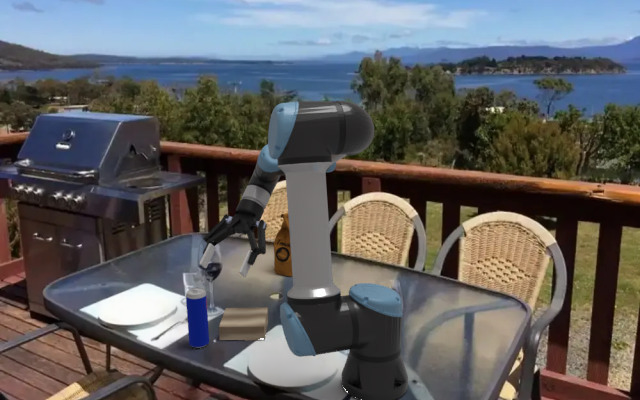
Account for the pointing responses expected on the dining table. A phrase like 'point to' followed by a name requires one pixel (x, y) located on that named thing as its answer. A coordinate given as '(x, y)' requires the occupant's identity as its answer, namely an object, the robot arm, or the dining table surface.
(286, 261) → the coffee package
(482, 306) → the dining table surface
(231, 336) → the oak block
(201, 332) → the beverage can
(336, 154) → the robot arm
